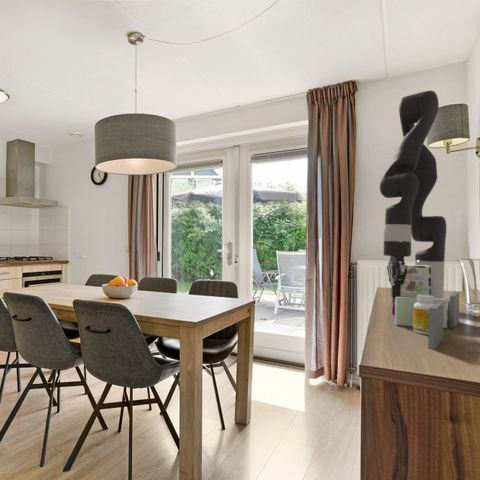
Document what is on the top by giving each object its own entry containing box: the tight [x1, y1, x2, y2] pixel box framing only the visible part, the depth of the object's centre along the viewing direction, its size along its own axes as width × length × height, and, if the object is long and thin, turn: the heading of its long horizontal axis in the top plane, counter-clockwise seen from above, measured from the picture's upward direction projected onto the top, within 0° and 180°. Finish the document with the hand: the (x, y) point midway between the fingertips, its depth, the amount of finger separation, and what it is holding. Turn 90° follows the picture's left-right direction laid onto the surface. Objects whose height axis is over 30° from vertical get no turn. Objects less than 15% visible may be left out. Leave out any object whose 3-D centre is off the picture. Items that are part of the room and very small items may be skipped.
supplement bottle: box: [412, 294, 434, 336], centre depth 93 cm, size 5×5×10 cm
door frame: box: [427, 291, 460, 350], centre depth 92 cm, size 36×2×9 cm, turn 141°
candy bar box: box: [391, 264, 431, 316], centre depth 114 cm, size 11×5×16 cm, turn 68°
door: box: [394, 297, 448, 329], centre depth 99 cm, size 13×1×8 cm, turn 81°
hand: (395, 298), depth 105 cm, fingers closed
